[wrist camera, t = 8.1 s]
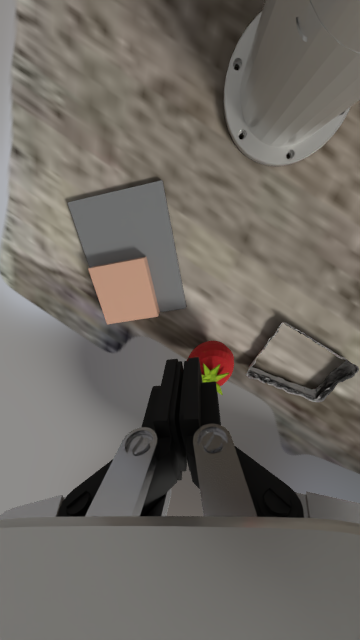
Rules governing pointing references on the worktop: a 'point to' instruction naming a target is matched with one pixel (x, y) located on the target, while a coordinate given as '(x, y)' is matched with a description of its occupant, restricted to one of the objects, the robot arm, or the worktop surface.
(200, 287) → the worktop surface
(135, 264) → the tile
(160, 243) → the mat
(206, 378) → the strawberry
